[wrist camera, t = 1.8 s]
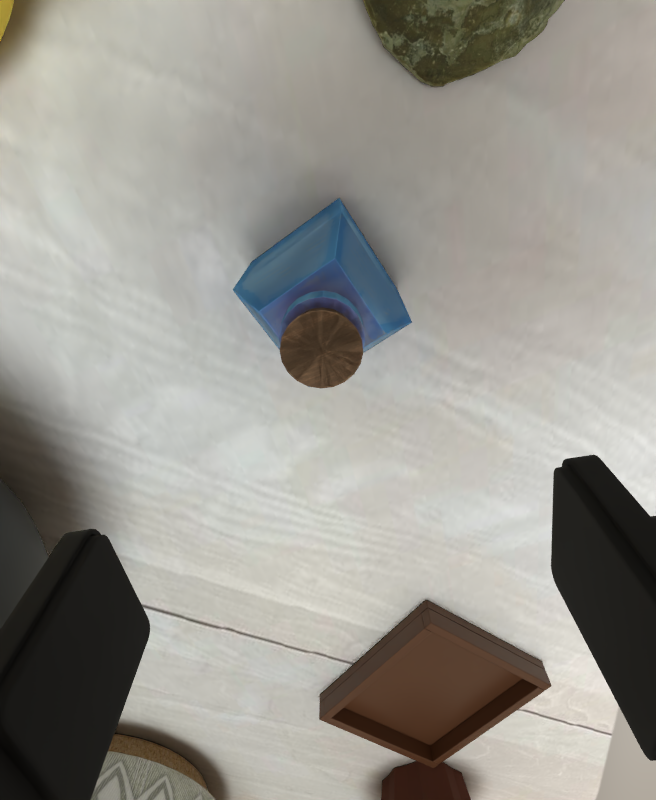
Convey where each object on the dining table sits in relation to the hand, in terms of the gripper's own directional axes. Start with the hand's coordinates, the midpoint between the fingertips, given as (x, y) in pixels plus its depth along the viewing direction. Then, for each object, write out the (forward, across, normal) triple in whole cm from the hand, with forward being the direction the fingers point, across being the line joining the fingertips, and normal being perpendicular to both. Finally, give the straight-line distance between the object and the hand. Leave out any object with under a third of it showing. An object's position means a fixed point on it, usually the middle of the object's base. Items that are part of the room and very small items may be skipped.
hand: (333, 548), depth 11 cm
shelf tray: (+22, -2, +38) cm, 44 cm away
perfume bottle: (+22, 0, -1) cm, 22 cm away
